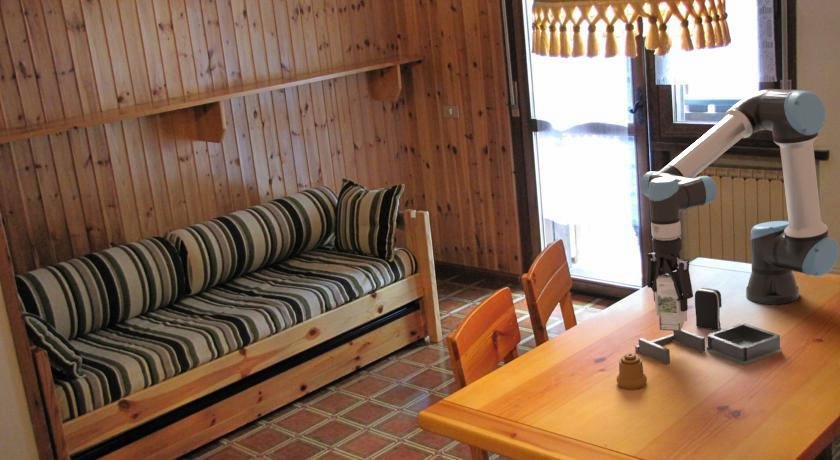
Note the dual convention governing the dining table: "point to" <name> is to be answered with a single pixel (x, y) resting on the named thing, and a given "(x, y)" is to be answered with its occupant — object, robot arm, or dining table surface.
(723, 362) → the dining table surface
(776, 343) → the square tray
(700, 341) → the grey u-shaped bracket
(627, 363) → the ornamental finial
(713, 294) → the black rounded block
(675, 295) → the syrup box
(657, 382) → the dining table surface
